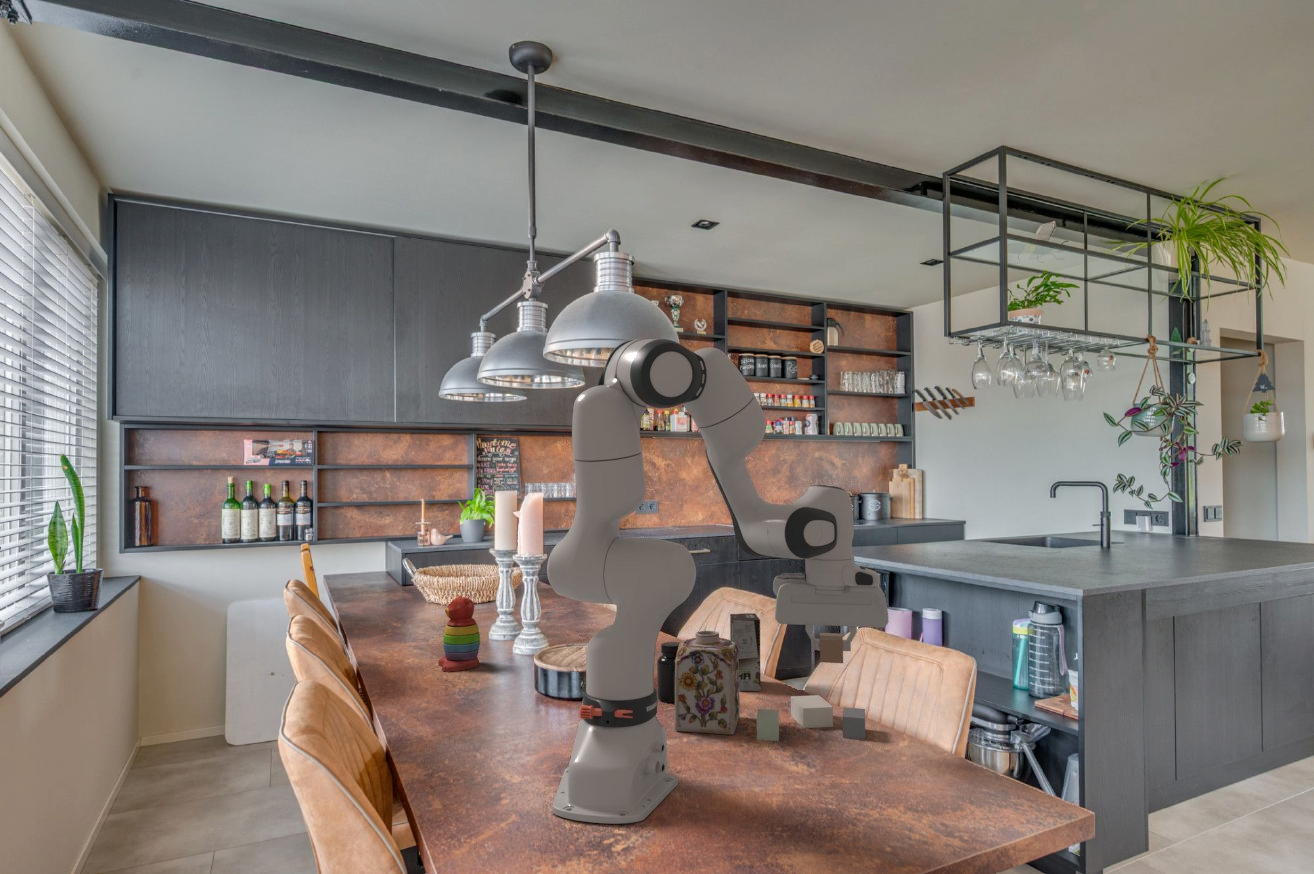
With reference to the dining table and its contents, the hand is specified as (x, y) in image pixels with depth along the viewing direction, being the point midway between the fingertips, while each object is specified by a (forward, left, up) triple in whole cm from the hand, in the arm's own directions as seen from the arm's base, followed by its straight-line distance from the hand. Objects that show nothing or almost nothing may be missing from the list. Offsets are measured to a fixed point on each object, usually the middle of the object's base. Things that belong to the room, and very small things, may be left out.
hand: (831, 649), depth 136 cm
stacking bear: (+40, +94, -17) cm, 104 cm away
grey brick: (+7, -4, -17) cm, 19 cm away
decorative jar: (+7, +24, -17) cm, 30 cm away
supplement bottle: (+22, +34, -17) cm, 44 cm away
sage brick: (+3, +12, -17) cm, 21 cm away
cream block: (+13, +4, -17) cm, 22 cm away
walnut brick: (0, 0, -2) cm, 2 cm away
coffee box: (+36, +19, -17) cm, 44 cm away
